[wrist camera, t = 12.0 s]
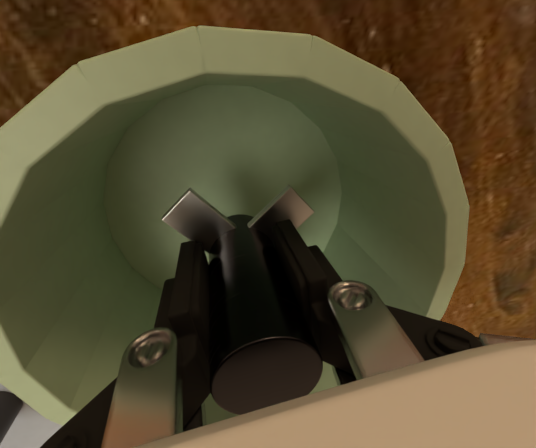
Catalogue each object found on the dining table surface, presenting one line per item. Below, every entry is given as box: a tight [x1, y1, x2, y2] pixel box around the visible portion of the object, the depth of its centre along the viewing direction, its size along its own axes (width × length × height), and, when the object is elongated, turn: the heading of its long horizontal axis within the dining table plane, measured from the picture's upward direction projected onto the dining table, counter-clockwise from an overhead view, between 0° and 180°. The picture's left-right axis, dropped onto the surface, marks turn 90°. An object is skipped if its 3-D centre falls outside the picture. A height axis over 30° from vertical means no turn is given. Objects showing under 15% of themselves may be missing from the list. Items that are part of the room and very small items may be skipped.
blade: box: [162, 185, 323, 415], centre depth 10 cm, size 7×7×7 cm
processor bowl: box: [0, 25, 469, 426], centre depth 12 cm, size 15×15×8 cm
